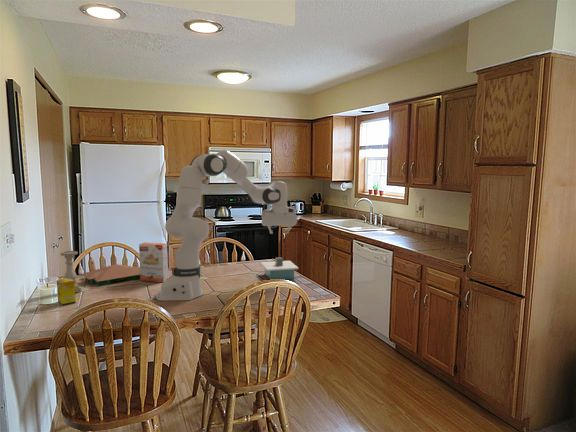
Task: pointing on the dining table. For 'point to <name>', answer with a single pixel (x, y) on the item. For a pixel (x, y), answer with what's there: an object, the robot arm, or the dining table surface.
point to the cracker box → (153, 262)
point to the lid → (279, 265)
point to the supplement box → (66, 291)
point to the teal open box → (280, 274)
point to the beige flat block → (112, 273)
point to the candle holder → (70, 267)
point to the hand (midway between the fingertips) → (279, 233)
